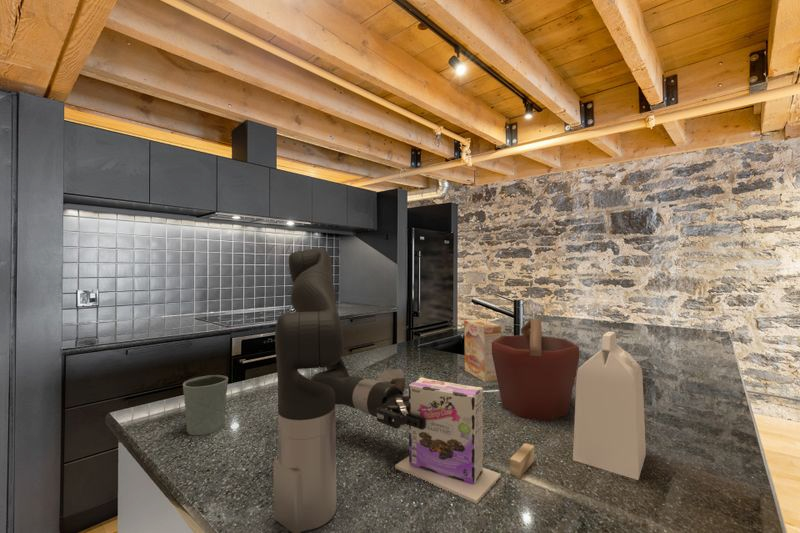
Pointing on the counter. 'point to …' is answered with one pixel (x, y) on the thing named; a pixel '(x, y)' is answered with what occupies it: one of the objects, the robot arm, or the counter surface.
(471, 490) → the board
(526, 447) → the block
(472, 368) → the coffeecake box
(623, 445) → the milk
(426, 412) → the candy box
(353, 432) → the counter surface
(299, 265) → the robot arm
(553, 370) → the bucket
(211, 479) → the counter surface
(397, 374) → the cleaver
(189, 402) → the green cup
